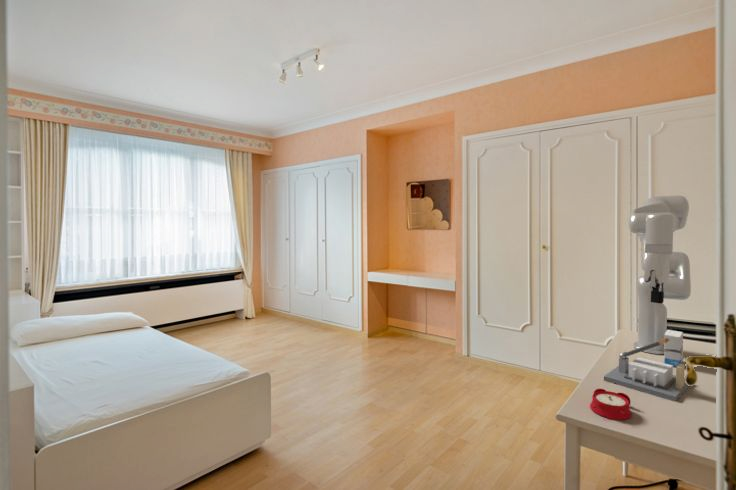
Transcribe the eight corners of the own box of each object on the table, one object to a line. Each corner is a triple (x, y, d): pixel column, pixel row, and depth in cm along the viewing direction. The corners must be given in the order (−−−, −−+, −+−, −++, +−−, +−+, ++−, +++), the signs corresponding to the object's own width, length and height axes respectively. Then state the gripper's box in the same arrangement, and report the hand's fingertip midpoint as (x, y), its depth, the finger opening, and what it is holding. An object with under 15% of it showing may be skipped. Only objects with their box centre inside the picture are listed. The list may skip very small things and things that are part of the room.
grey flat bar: (621, 359, 134) (618, 355, 135) (625, 356, 137) (622, 352, 137) (667, 343, 123) (663, 339, 124) (670, 341, 126) (667, 336, 126)
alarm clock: (588, 404, 110) (592, 374, 122) (588, 422, 112) (593, 391, 124) (631, 414, 104) (632, 382, 116) (631, 433, 106) (631, 399, 118)
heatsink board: (623, 366, 144) (623, 344, 143) (691, 384, 128) (692, 359, 127) (603, 380, 133) (604, 356, 132) (675, 401, 117) (676, 374, 116)
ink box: (680, 368, 140) (681, 337, 139) (663, 364, 144) (663, 334, 143) (683, 361, 146) (684, 331, 145) (666, 358, 150) (667, 329, 149)
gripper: (652, 247, 137) (651, 297, 138) (637, 250, 128) (636, 304, 129) (678, 248, 131) (677, 301, 132) (665, 251, 122) (663, 307, 123)
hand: (657, 302), depth 131 cm, fingers closed
